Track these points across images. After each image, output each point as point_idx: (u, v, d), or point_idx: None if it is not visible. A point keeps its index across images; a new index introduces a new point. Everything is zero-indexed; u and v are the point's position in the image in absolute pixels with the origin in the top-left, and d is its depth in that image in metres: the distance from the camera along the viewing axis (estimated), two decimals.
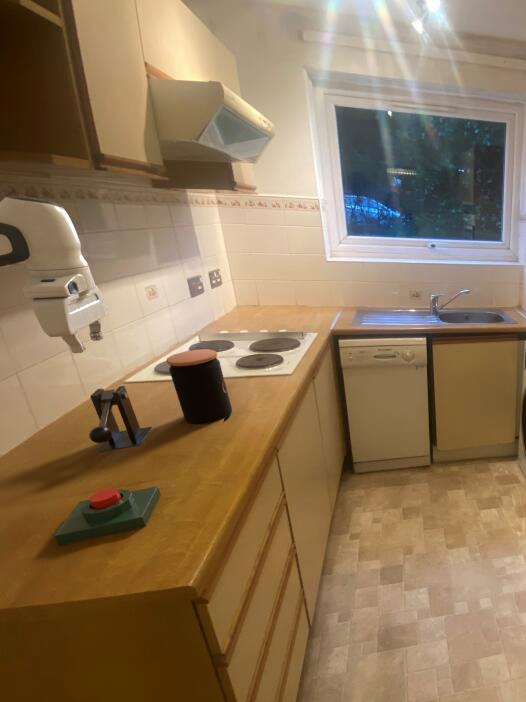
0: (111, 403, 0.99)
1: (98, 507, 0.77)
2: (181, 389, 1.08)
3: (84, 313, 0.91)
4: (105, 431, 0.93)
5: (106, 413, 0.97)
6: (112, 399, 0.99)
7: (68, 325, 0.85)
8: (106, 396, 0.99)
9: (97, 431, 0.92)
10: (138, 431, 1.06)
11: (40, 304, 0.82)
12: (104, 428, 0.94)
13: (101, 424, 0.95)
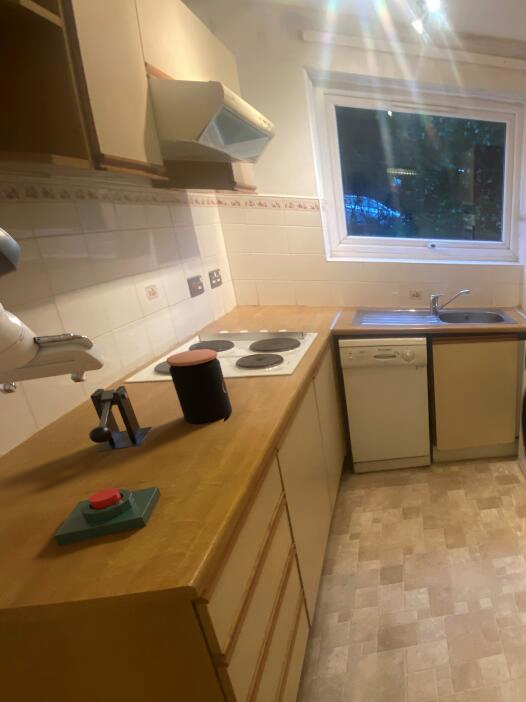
0: (111, 403, 0.99)
1: (98, 507, 0.77)
2: (181, 389, 1.08)
3: (8, 374, 0.71)
4: (105, 431, 0.93)
5: (106, 413, 0.97)
6: (112, 399, 0.99)
7: None
8: (106, 396, 0.99)
9: (97, 431, 0.92)
10: (138, 431, 1.06)
11: None
12: (104, 428, 0.94)
13: (101, 424, 0.95)
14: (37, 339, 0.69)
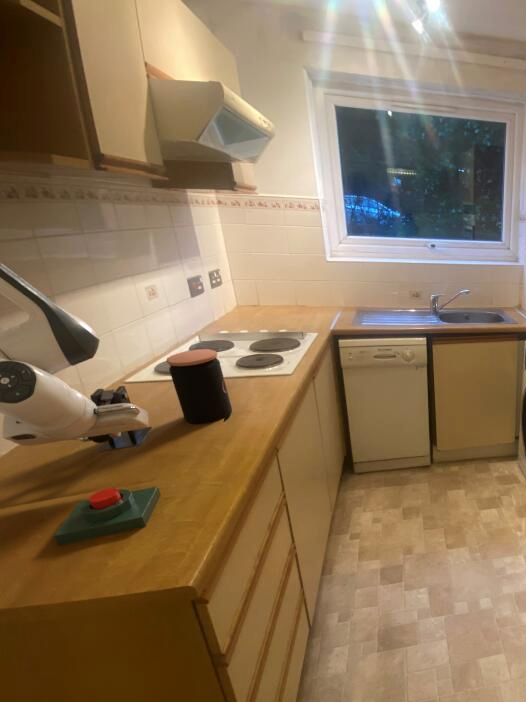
0: (111, 403, 0.99)
1: (98, 507, 0.77)
2: (181, 389, 1.08)
3: None
4: None
5: None
6: (112, 399, 0.99)
7: (21, 444, 0.84)
8: (106, 396, 0.99)
9: None
10: (138, 431, 1.06)
11: None
12: None
13: None
14: (96, 410, 0.84)
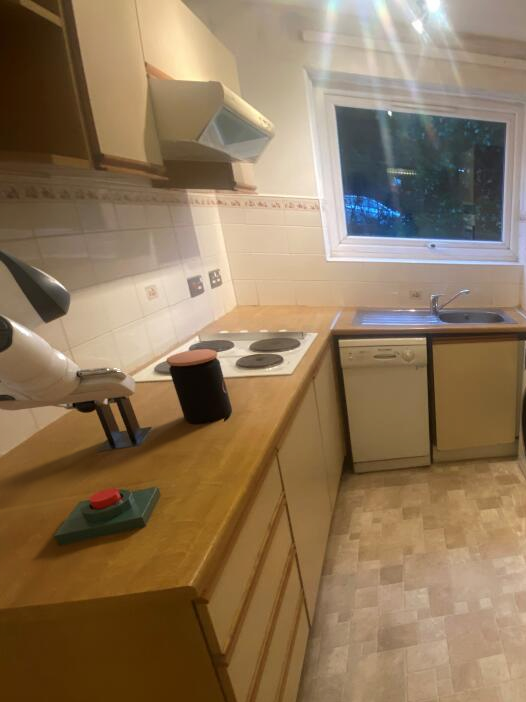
0: None
1: (98, 507, 0.77)
2: (181, 389, 1.08)
3: (55, 399, 0.83)
4: None
5: None
6: None
7: (1, 408, 0.81)
8: None
9: None
10: (138, 431, 1.06)
11: None
12: None
13: None
14: (80, 373, 0.81)
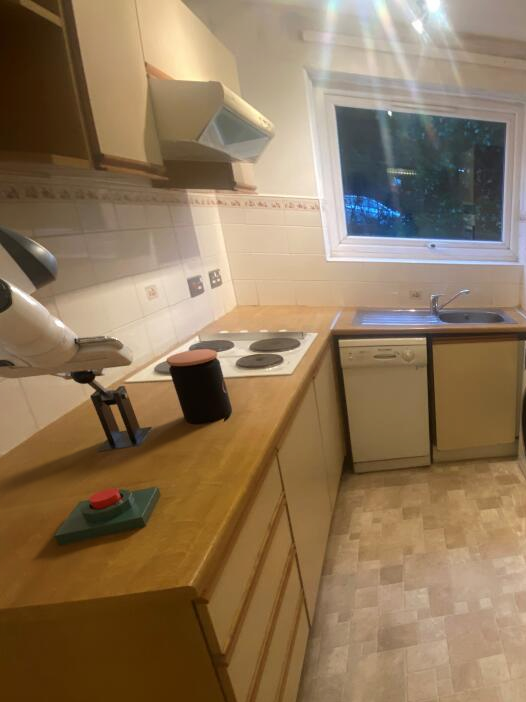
0: (108, 393, 0.99)
1: (98, 507, 0.77)
2: (181, 389, 1.08)
3: (54, 367, 0.84)
4: None
5: None
6: (112, 391, 1.00)
7: (0, 376, 0.82)
8: None
9: None
10: (138, 431, 1.06)
11: None
12: None
13: None
14: (78, 340, 0.82)
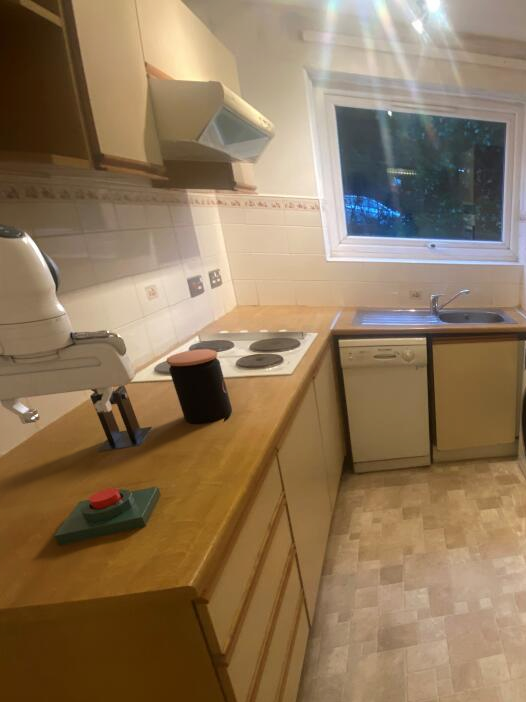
0: None
1: (98, 507, 0.77)
2: (181, 389, 1.08)
3: (32, 380, 0.67)
4: None
5: None
6: (112, 392, 1.00)
7: None
8: None
9: None
10: (138, 431, 1.06)
11: None
12: None
13: None
14: (74, 333, 0.68)
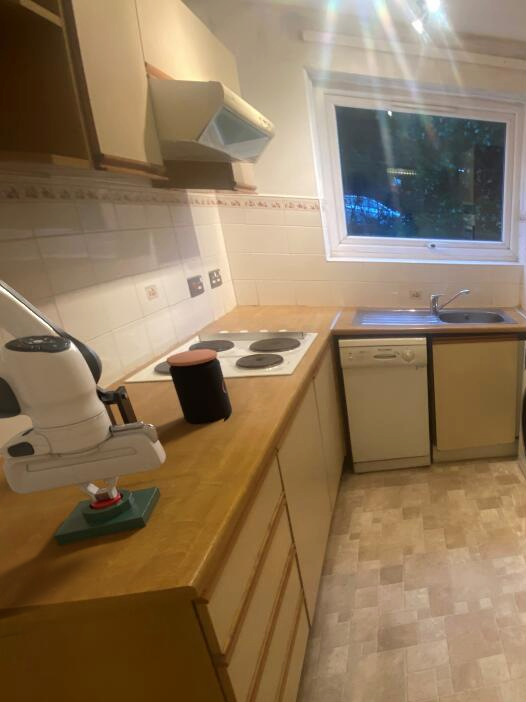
0: (108, 394, 0.99)
1: None
2: (181, 389, 1.08)
3: (74, 470, 0.73)
4: None
5: None
6: (112, 392, 1.00)
7: (11, 486, 0.70)
8: None
9: None
10: None
11: None
12: None
13: None
14: (112, 426, 0.75)
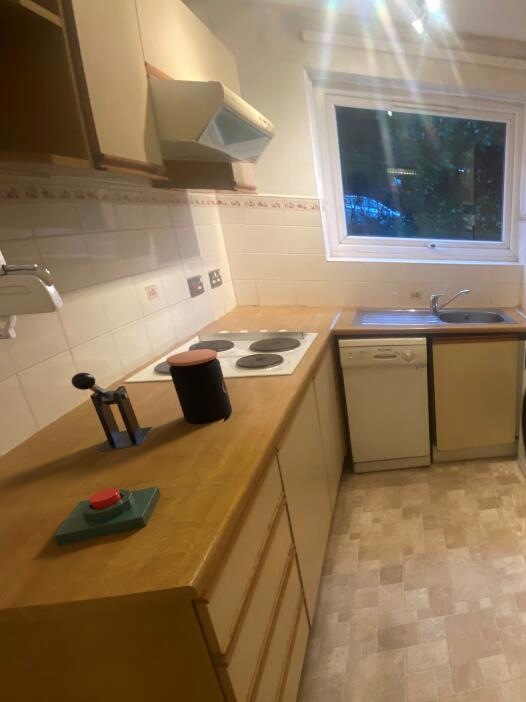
0: (108, 394, 0.99)
1: (98, 507, 0.77)
2: (181, 389, 1.08)
3: None
4: (90, 374, 0.91)
5: None
6: (112, 392, 1.00)
7: None
8: None
9: None
10: (138, 431, 1.06)
11: None
12: None
13: None
14: (6, 265, 0.81)
